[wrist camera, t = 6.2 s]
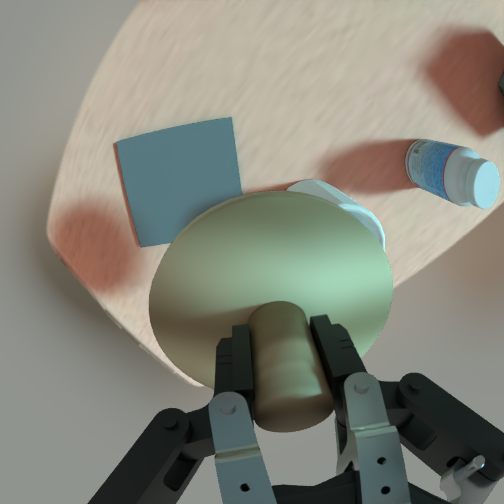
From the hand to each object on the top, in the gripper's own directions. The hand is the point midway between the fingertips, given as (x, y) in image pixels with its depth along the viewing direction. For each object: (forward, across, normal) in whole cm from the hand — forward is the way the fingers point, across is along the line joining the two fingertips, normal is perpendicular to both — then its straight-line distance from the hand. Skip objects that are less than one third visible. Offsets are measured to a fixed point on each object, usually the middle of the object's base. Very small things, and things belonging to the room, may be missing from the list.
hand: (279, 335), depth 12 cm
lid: (+2, 0, 0) cm, 2 cm away
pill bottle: (+19, -21, -4) cm, 29 cm away
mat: (+19, +7, -4) cm, 21 cm away
